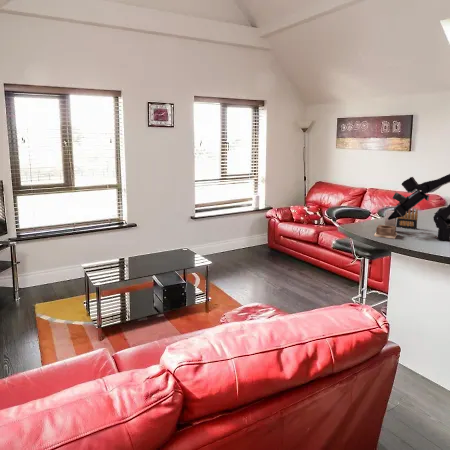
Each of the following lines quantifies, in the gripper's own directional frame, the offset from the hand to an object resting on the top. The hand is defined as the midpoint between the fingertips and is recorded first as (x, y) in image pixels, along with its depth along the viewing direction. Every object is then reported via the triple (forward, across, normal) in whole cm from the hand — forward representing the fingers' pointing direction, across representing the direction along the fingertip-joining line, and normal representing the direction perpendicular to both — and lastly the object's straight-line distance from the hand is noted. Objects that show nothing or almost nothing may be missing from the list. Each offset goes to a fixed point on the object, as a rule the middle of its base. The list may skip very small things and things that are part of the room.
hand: (389, 217), depth 232 cm
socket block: (+5, +12, +5) cm, 14 cm away
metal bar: (+5, 0, +6) cm, 7 cm away
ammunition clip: (0, -14, +11) cm, 18 cm away
